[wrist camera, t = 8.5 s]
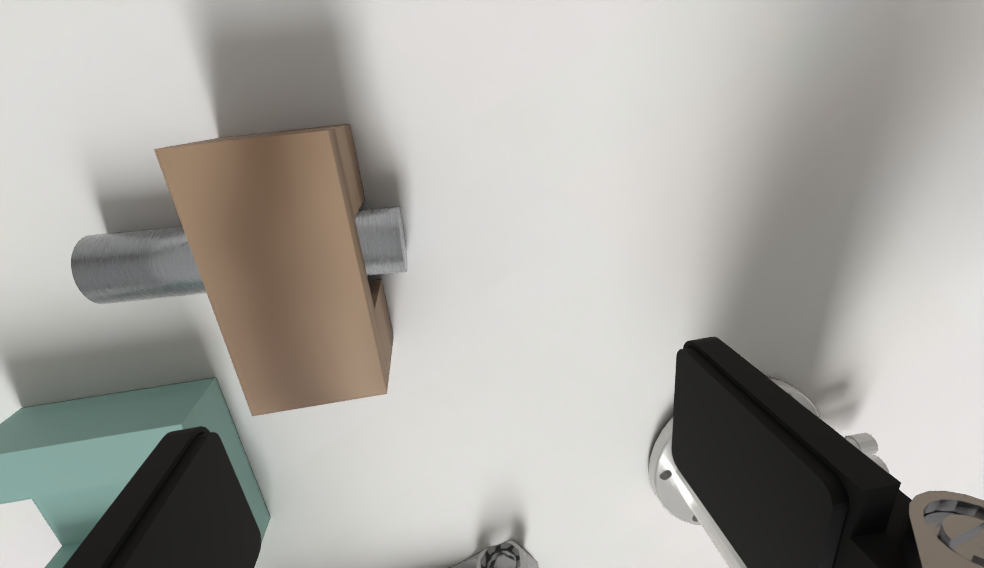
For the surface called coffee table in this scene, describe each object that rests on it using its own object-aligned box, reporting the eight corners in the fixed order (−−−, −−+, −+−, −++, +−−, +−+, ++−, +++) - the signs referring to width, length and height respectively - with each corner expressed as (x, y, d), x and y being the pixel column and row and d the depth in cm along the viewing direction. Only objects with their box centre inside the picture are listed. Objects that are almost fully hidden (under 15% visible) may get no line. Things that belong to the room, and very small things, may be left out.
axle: (401, 211, 24) (396, 202, 21) (408, 271, 24) (404, 271, 21) (118, 237, 23) (66, 232, 20) (127, 301, 23) (76, 306, 20)
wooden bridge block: (349, 124, 22) (327, 130, 17) (393, 337, 26) (386, 393, 21) (217, 138, 21) (154, 149, 16) (285, 354, 26) (252, 416, 20)
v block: (215, 377, 25) (181, 424, 22) (270, 517, 30) (248, 576, 26) (21, 408, 24) (-50, 462, 21) (105, 548, 29) (59, 614, 25)
